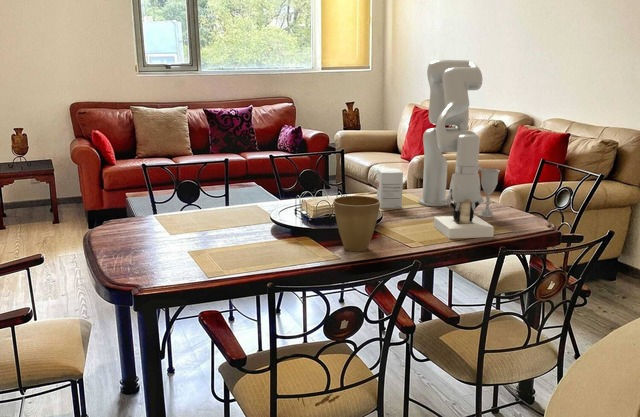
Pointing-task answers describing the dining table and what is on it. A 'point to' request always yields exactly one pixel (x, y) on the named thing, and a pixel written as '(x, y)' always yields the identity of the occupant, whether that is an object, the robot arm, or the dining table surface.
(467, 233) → the socket
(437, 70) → the robot arm
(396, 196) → the supplement box
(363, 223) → the plant pot
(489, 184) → the chalice
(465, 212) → the peg
